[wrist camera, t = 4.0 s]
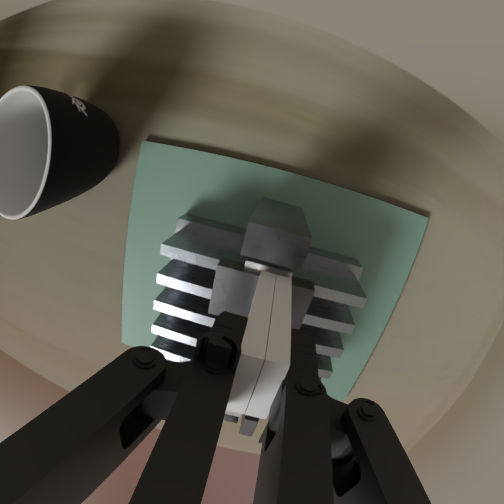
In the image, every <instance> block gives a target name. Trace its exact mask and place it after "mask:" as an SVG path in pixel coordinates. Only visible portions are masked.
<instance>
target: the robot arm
mask: <svg viewBox="0 0 504 504" xmlns="http://www.w3.org/2000/svg"><path fill="white" fill-rule="evenodd" d="M291 298H292V278H288V277H284V276H280V275H276V274H273V273H269V272H266V271H262V270H261V273H260V276H259V280H258V283H257V287H256V291H255V294H254V298H253V302H252V305H251V309H250V312H249V316H248V317H244V316H241V315H237V314H234V313H230V312H227V311H224V312H222V313H221V314H219V315H218V316H217V317H216V319H215V321H214V324H213V326H212V328H211V331H210V332H207V333H205V334H202V335H200V336H199V338H198V339H197V342H196V348H195V354H194V359H193V360H190V361H186V362H172V361H166V358H165V357H164V355H163V354H162V353H161V352H160V351H159V350H157V349H155V348H152V347H149V346H136V347H132V348H130V349H128V350H127V351H125V352H124V353H123V354H121V355H120V356H119V357H117V358H116V359H115V360H113V361H112V362H110V363H109V364H108V365H106V366H105V367H104V368H102V369H101V370H100V371H98V372H97V373H96V374H94V375H93V376H91V377H90V378H89V379H87V380H86V381H85V382H83V383H82V384H81V385H79V386H78V387H77V388H75V389H74V390H72V391H71V392H70V393H69V394H67V395H66V396H64V397H63V398H62V399H60V400H59V401H58V402H56V403H55V404H53V405H52V406H51V407H49V408H48V409H46V410H45V411H44V412H42V413H41V414H40V415H38V416H37V417H36V418H34V419H33V420H32V421H30V422H29V423H27V424H26V425H25V426H23V427H22V428H20V429H19V430H18V431H16V432H15V433H14V434H12V435H11V436H9V437H8V438H7V439H5V440H4V441H3V442H1V443H0V504H81V503H82V502H83V501H84V500H85V499H86V498H87V497H88V496H89V495H90V494H91V493H92V492H93V491H94V490H95V489H96V488H97V487H98V486H99V485H100V484H101V483H102V482H103V481H104V480H105V479H106V478H107V477H108V476H109V475H110V474H111V473H112V472H113V471H114V470H115V469H116V468H117V467H118V466H119V465H120V464H121V463H122V462H123V461H124V460H125V458H127V457H128V455H129V454H130V453H131V452H132V451H133V450H134V449H135V448H136V447H137V446H138V445H139V444H140V443H141V442H142V441H143V440H144V438H145V437H146V436H147V435H148V434H149V433H150V432H151V431H152V430H153V429H154V428H155V427H156V425H157V424H158V423H159V422H160V421H161V420H166V421H165V424H164V426H163V428H162V430H161V432H160V435H159V437H158V439H157V442H156V444H155V446H154V448H153V450H152V453H151V455H150V457H149V460H148V462H147V464H146V466H145V468H144V470H143V473H142V475H141V477H140V479H139V482H138V484H137V486H136V489H135V491H134V493H133V495H132V498H131V500H130V502H129V504H201V500H202V497H203V493H204V490H205V486H206V482H207V479H208V475H209V471H210V468H211V464H212V460H213V456H214V453H215V449H216V445H217V442H218V438H219V434H220V430H221V427H222V423H223V419H224V415H225V411H226V410H228V411H232V412H236V413H240V414H245V415H248V416H253V417H257V418H261V419H266V418H267V416H268V414H269V421H268V423H267V425H266V427H265V429H264V431H263V433H262V435H261V437H260V440H259V443H262V449H261V456H260V462H259V469H258V477H257V482H256V488H255V495H254V501H253V504H431V503H430V500H429V498H428V496H427V494H426V492H425V490H424V488H423V486H422V484H421V482H420V480H419V478H418V476H417V474H416V472H415V470H414V468H413V466H412V464H411V462H410V460H409V458H408V456H407V454H406V452H405V450H404V449H403V447H402V445H401V443H400V441H399V439H398V437H397V435H396V433H395V431H394V430H393V428H392V426H391V424H390V422H389V420H388V418H387V416H386V415H385V413H384V411H383V410H382V408H381V407H380V406H379V405H378V404H377V403H375V402H374V401H371V400H369V399H365V398H358V399H354V400H353V401H352V402H350V403H349V405H347V404H345V403H343V402H340V401H338V400H335V399H333V398H332V397H330V396H329V395H327V391H326V388H325V386H324V385H323V384H322V382H321V381H319V376H318V364H317V357H316V356H317V353H316V343H315V339H314V338H313V336H312V335H311V333H310V332H307V331H303V330H299V329H294V328H291ZM262 441H263V442H262Z"/></svg>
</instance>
